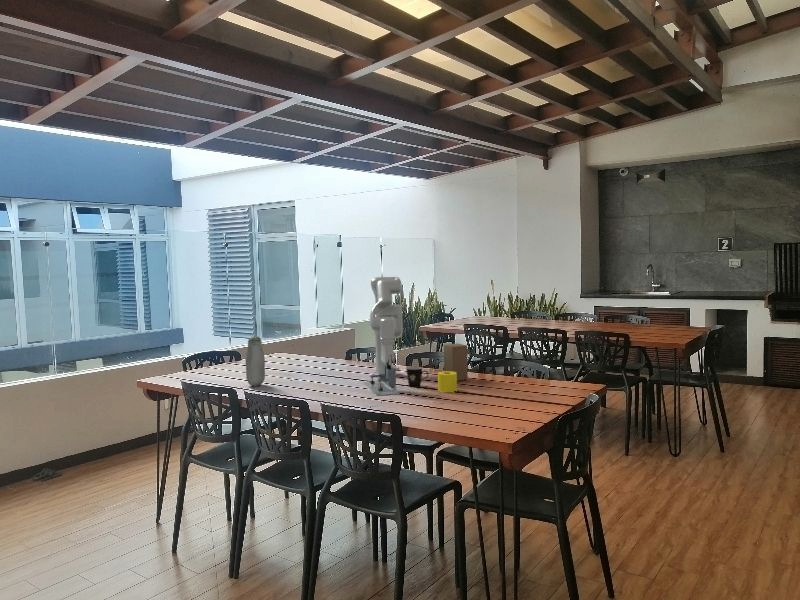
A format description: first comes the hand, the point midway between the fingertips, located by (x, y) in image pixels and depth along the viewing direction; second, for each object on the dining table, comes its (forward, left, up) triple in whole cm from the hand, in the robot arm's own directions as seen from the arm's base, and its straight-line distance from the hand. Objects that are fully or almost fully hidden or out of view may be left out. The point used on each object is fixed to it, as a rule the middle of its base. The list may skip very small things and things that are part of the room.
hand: (388, 375), depth 326 cm
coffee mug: (-17, -2, -8) cm, 18 cm away
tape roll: (-29, +14, -8) cm, 33 cm away
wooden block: (-44, -12, -8) cm, 46 cm away
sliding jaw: (+2, +5, -5) cm, 8 cm away
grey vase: (+67, -37, -8) cm, 77 cm away
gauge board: (+3, -3, -8) cm, 9 cm away
